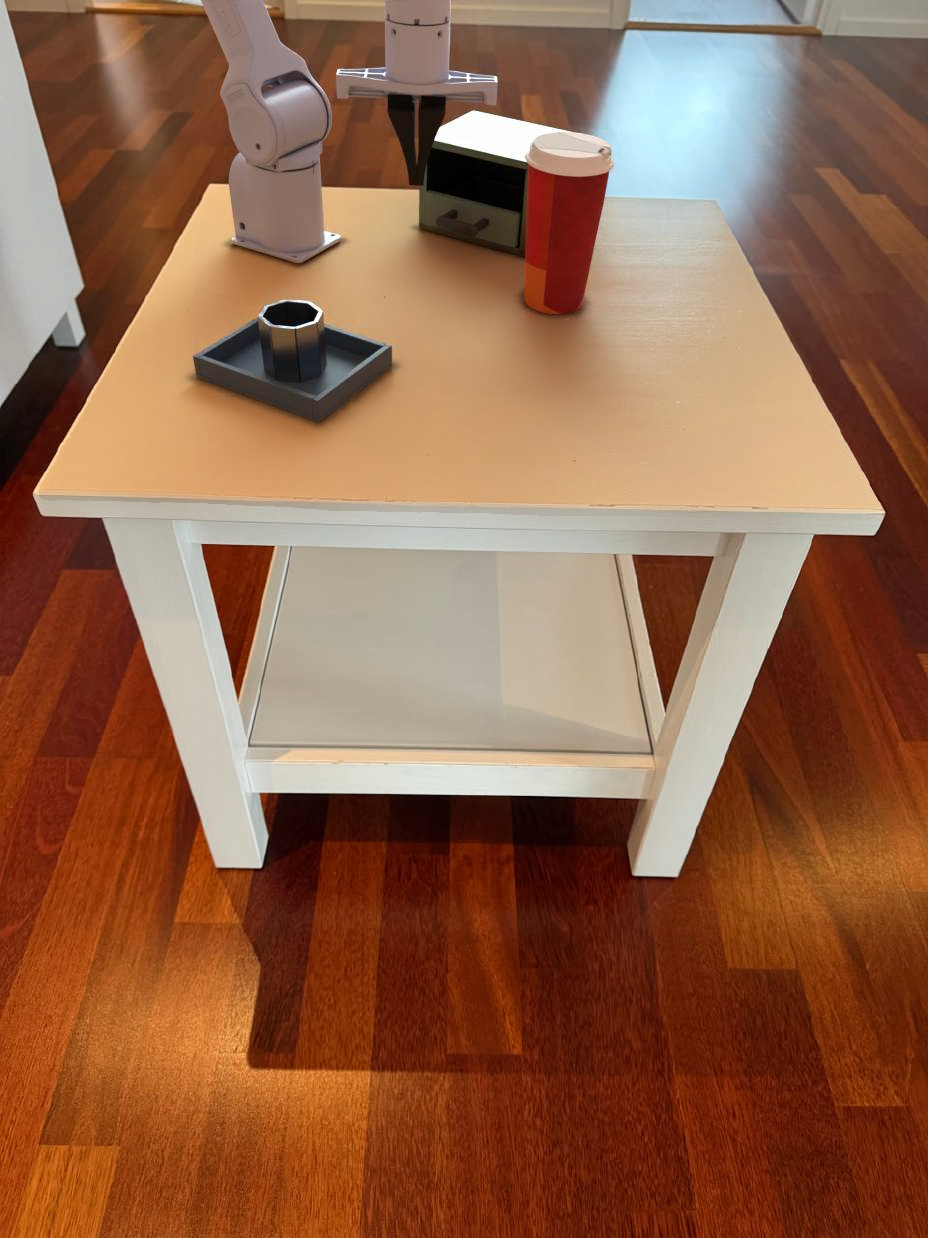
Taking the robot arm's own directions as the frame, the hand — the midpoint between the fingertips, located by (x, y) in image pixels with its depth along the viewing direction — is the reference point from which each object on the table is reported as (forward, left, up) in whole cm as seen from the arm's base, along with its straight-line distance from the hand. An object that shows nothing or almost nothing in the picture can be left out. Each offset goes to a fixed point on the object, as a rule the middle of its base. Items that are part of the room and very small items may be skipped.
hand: (416, 181), depth 89 cm
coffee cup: (+14, +4, -10) cm, 18 cm away
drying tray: (+1, -22, -10) cm, 24 cm away
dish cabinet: (0, +18, -10) cm, 21 cm away
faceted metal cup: (+1, -22, -9) cm, 24 cm away
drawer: (0, +15, -9) cm, 18 cm away
